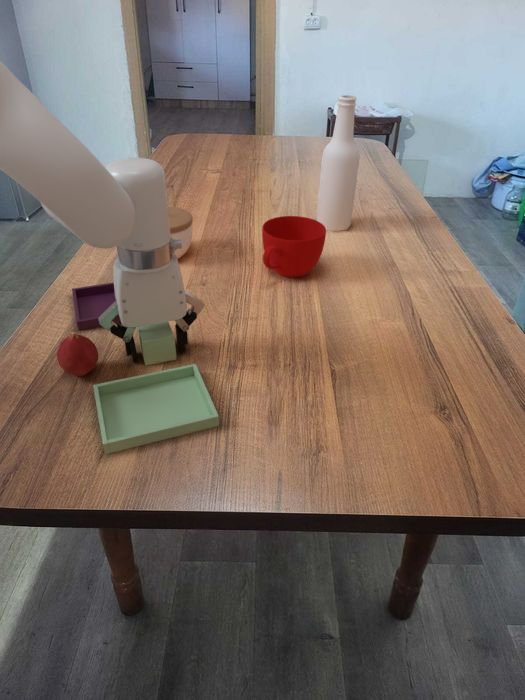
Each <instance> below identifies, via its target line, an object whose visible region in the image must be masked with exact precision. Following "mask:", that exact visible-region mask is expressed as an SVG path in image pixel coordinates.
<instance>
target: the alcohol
mask: <svg viewBox="0 0 525 700" xmlns="http://www.w3.org/2000/svg"><path fill="white" fill-rule="evenodd" d="M337 99H338V102H337V110H336V116H335V121H334V127H333V133H332V137H331V139H330V141H329V142H327V144H326V146H325V147H324V148H323V151H322V155H321V163H320V175H319V185H318V197H317V207H316V219H315V220H316V221H318V222H320V223H322V224H323V225H324V226H325V228H326V231H330V232H343V231H347V230H348V229H349V228H350V226H351V224H352V217H353V210H354V202H355V195H356V187H357V182H358V181H357V180H358V173H359V165H360V149H359V148H358V145H357V144H356V142H355V139H354V133H355V132H354V130H355V113H356V112H355V111H356V106H357V97H356V96H354V95H350V94H349V95H347V94H342V95H339V96H338V97H337Z"/></svg>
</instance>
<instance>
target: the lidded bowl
mask: <svg viewBox="0 0 525 700" xmlns="http://www.w3.org/2000/svg"><path fill="white" fill-rule="evenodd" d="M168 214H169V224H170V235H171V237H172V239H175V240H179V239H180V240H181V244H182V249H177V250H174V253H175V254H176V257H177V260H179V259H180V258H182V257H183V256H184V255H185V254H186V253H187V252H188V250H189V249H190V246H191V244H192V240H193V221H194V219H193V218H194V217H193V214H192V213H191V212H190V211H189V210H186V209H184V208H181V207H175V206H168Z"/></svg>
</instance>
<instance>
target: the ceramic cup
mask: <svg viewBox="0 0 525 700" xmlns="http://www.w3.org/2000/svg"><path fill="white" fill-rule="evenodd" d="M261 229H262V230H261V236H262V247H263V255H262V262H263V265H264V267H265V268H266V269H269V270H273V271H274V272H275V273H276V274H277V275H279V276H281V277H284V278H288V279H297V278H302V277H304V276H306V275H308V273H310V272H311V271H312V270H313V269H315V267H316V265H317V264H318V263H319V261H320V259H321V256H322V254H323V251H324V247H325V243H326V237H327V236H326V235H327V230H326V228H325V226H324V225H323V224H322V223H320V222H318V221H316V219H313V218H310V217H306V216H298V215H283V216H278V217H277V216H276V217H273V218H270V219H268V220H266V221H265V222H264V223H263V224H262V228H261Z"/></svg>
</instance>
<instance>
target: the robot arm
mask: <svg viewBox="0 0 525 700" xmlns="http://www.w3.org/2000/svg"><path fill="white" fill-rule="evenodd" d="M0 171H1V172H3V173H4V174H6V175H7V176H8V177H10V178H11V179H12V180H14V182H16V183H17V184H18V185H19V186H21V187H22V188H23V189H24V190H26V191H27V192H28V193H29V194H30V195H31V196H33V197H34V198H35V199H36V200H37V201H38V202H40V205H41V207H42V209H43V210H44V211H45V212H46V214H47V215H48V216H49V217H50V218H51V219H52V220H53V221H55V222H56V223H58V224H59V225H61V227H63V228H64V229H66V230H67V231H69V232H70V233H72V234H73V235H74V236H75V237H77V238H78V239H79V240H80V241H81V242H82V243H84V244H86V245H88V246H90V247H93V248H97V249H103V250H104V249H106V250H107V249H112V248H116V251H117V257H116V258H115V259H114V260H113V266H112V270H113V271H112V277H113V278H112V279H113V282H114V291H115V299H116V301H115V302H114V303H113V304H112V305H111V306H110V307H109V308H108V309H107V310H106V311H105V312H104V313H103V314H102V315H101V316H100V317H99V318H98V320H99V324H100V325H101V326H102V327H101V328H104V329H105V330H107V331H109V332H110V333H111V334H112V335H114V336H115V337H117V338H119V339H121V340H122V341H123V342H124V348H125V353H126V356H127V357H128V356H131V359H132V362H133V363H137V362H138V361H139V359H138V353H137V347H136V342H135V338H134V333H135V331H136V329H137V327H140V326H146V325H151V324H157V323H163V322H172V321H173V322H175V325H174V327H175V336H176V338H175V339H176V343H177V347H178V349H179V351H180V353H186V345H189V337H188V331H189V330H190V326H191V325H192V324H193V323H194V322H195V321H196V320H197V318H198V315H200V313H202V311H203V309H204V308H205V306H206V305H205V303H204V300H202V299H201V298H199V297H198V296H196V295H194V294H192V293H190V292H188V291H186V290H185V285H184V281H183V280H184V279H183V275H182V271H181V267H180V264H179V259H177V257H176V254H175V253H174V250H177V249H182V244H181V240H180V239H179V240H175V239H172V237H171V235H170V224H169V214H168V207H169V204H168V193H167V183H166V182H167V181H166V175H165V174H166V173H165V171H164V168H163V166H162V165H161V164H160V163H159V162H157V160H155V159H151V158H146V157H125V158H121V159H117V160H115V161H113V162H111V163H102V162H101V161H100V160H99V159H98V158H97V157H96V155H94V153H93V152H92V151H90V149H89V148H88V147H87V146H86V145H85V144H84V143H83V142H82V141H81V140H80V139H79V138H78V137H77V136H76V135H75V134H74V133H73V132H72V131H71V130H70V129H69V128H67V126H66V125H64V123H63V122H61V120H59V119H58V118H57V117H56V116H55V115H54V114H53V113H52V112H51V111H50V110H49V109H48V108H47V107H46V106H45V104H44V103H43V102H42V101H41V100H40V99H39V97H37V96H36V95H35V94H34V93H33V92H32V91H30V89H29V88H27V86H26V85H24V83H22V82H21V81H20V79H19V78H17V77H16V75H15V74H14V73H13V72H12V71H11V70H9V68H8V67H7V66H6V65H5V64H4V63H3V61H2V60H0ZM187 304H188V305H189V306H191V307H190V308H188V307H187V306H188V305H187ZM117 314H119V317H120V320H121V324H117V323H116V322H113V321H112V319H113V318H114V317H115V316H116V315H117Z"/></svg>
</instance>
